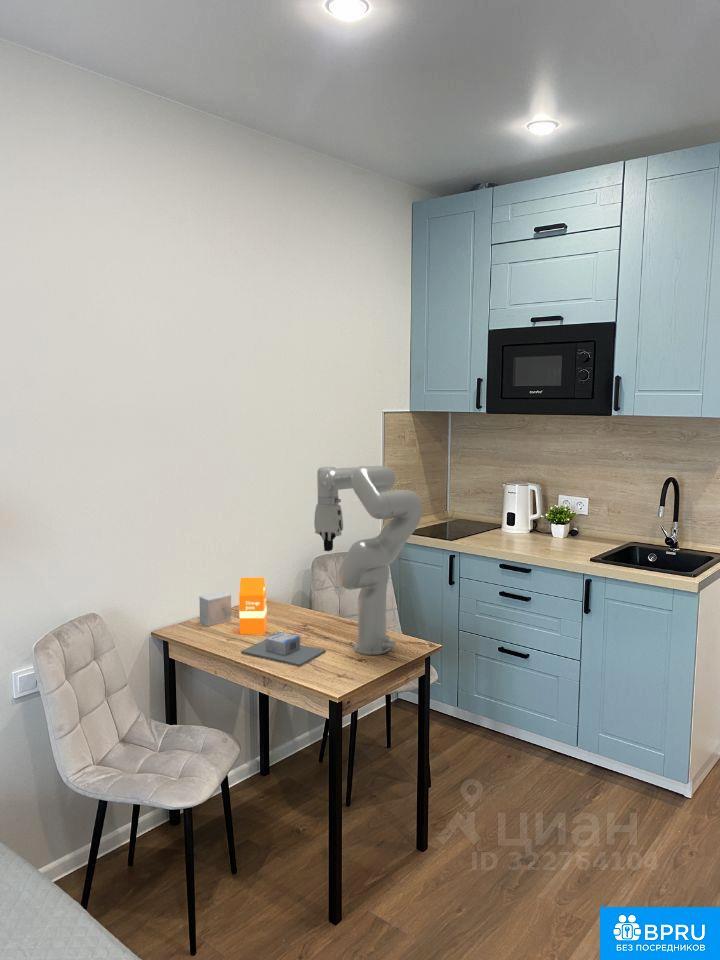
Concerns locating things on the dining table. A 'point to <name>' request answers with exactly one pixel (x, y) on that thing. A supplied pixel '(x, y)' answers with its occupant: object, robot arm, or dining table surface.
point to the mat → (292, 658)
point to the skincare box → (215, 608)
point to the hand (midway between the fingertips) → (328, 550)
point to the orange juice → (252, 606)
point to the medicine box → (282, 643)
